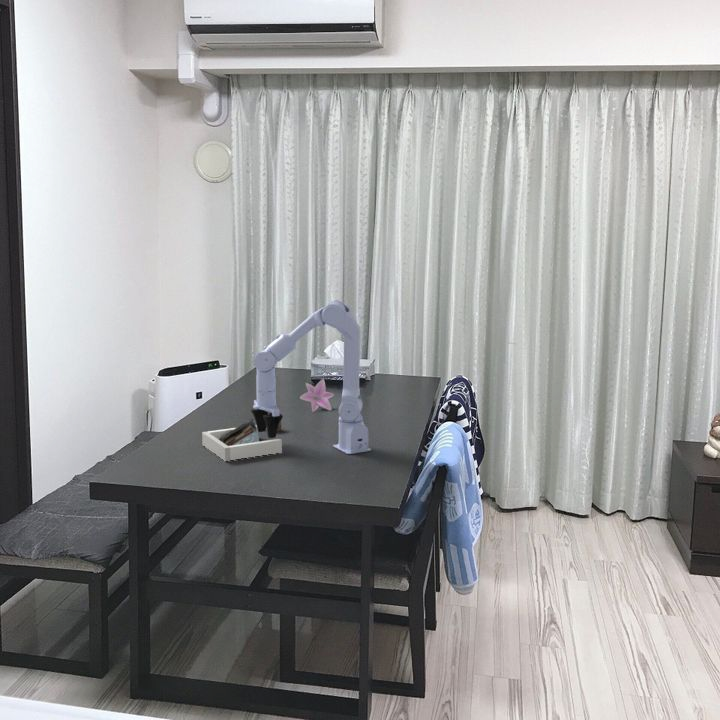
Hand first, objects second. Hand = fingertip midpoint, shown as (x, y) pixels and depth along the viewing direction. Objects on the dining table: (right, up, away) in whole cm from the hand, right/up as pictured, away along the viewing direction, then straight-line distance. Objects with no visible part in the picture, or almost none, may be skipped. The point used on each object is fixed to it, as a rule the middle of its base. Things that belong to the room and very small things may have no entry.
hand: (266, 434), depth 254 cm
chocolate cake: (-8, -4, +1) cm, 8 cm away
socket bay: (-6, -4, -3) cm, 8 cm away
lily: (+13, +5, +46) cm, 48 cm away
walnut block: (0, 0, +18) cm, 18 cm away
